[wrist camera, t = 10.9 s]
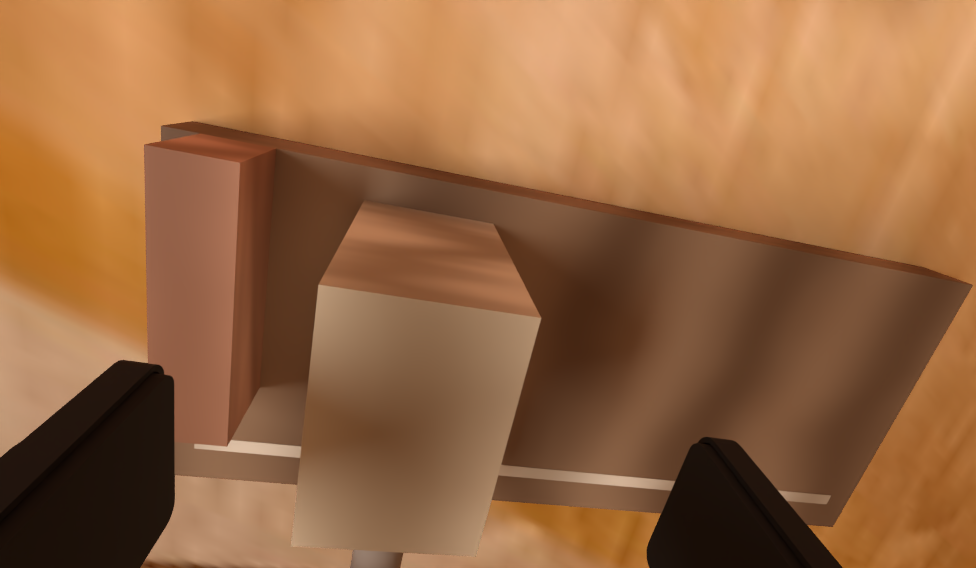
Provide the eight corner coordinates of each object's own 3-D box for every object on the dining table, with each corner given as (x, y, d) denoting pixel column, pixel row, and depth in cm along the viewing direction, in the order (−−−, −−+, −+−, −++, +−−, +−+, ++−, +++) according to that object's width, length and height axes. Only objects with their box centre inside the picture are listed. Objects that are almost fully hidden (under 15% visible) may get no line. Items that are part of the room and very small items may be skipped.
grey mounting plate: (923, 267, 21) (1067, 319, 16) (801, 493, 25) (889, 587, 20) (192, 121, 15) (93, 135, 11) (188, 437, 19) (114, 546, 15)
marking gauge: (493, 223, 16) (541, 318, 9) (437, 475, 19) (443, 674, 13) (364, 200, 15) (318, 284, 9) (329, 465, 18) (277, 671, 12)
